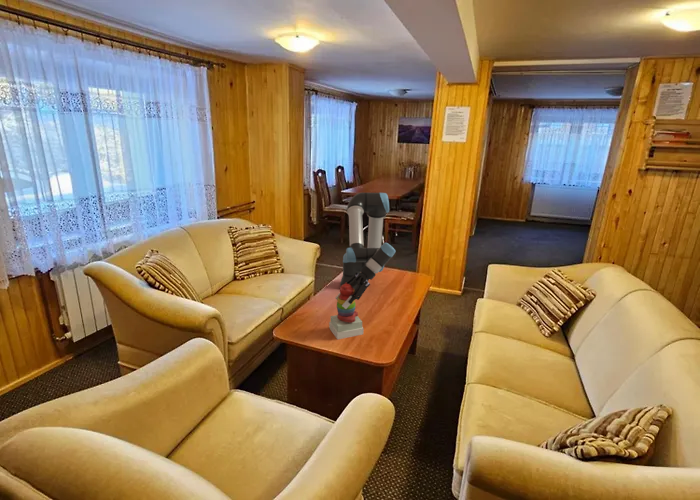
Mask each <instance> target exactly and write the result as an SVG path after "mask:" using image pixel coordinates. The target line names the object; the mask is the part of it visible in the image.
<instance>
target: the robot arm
mask: <svg viewBox="0 0 700 500" xmlns="http://www.w3.org/2000/svg"><path fill="white" fill-rule="evenodd" d="M389 212H390V202H389V196H388V193H386V192H379V191H378V192H364V191H363V192H358V193H356V194H355V195H353V196H352V197H351V198H350V200H349V202H348V203H347V208H346V213H347V215H348V226H349V227H348V228H349V229H348V233H349V247H347V248H346V249H345V253H344V254H343V256H342V277H341V279H340V282H339V288H340V287H341V286H342V285H343V284H345V283H347V284H350V285H351V286H352V287H353V288H354V290H355V291H354V293H353V295H351V296H350V297H349V298H348V299H347V300H346V302H345V303H344V304H343V305H342V306H343V307H344V308H345V309H347V308H348V306H349V305H350V304H351V303H352V302H353V301H354V300H355V301H356V300H357V301H359V300H360V299H361V297H362V296H363V294H364V293H365V292H366V290H367V289H368V288H369V287H370V286H371V283H370V282H369V280H373V279H374V278H375V277H376V274H379V273H381V272H383V270H384V268H385V265H386V264H387V263H388V262H389V261H390V260H391V259H392V258H393V257H394V255H395V254H396V249H395V248H394V247H393V246H392V245H391V244H389V243H388V242H384V243H383V244H382V239H383V228H384V218H386V217H387V214H388V213H389ZM364 213H366V215H367V217H368V229H367V231H368V232H367V235H368V236H367V247H364V246H365V245H364V244H365V243H364V228H363V226H364V224H363V215H364ZM340 295H341V294H340V292H339V293H338V294H337V295H336V296H335V300H337V301H338V297H339V296H340Z"/></svg>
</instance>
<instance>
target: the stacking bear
mask: <svg viewBox="0 0 700 500" xmlns="http://www.w3.org/2000/svg"><path fill="white" fill-rule="evenodd" d="M354 291H355V290H354V288H353V287H352V286H351V285H350V284H347V283H345V284H343V285H342V286H341V287H340V286H339V293H340V294H341V295H340V296H339V297H338V300H337V301H336V310H337V318H338V319H339V320H342V321H345V322H355V317H356V316H358V317H359V313H358V312H357V310H356V299H355V300H354V301H353V302H352V303H351V304H350V305H349V306H348V308H347V309H345V308H344V307H343V306H342V305H343V304H344V303H345V302H346V300H347V299H348V298H349V297H350V296H351V295H353V293H354Z"/></svg>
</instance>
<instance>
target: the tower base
mask: <svg viewBox="0 0 700 500" xmlns="http://www.w3.org/2000/svg"><path fill="white" fill-rule="evenodd" d="M337 315H338V314H337ZM337 315H336V314H335V315H331V316H330V321H329V322H328V325H329V329H330V331H331V333H332V334H333V336H334V337H335V339H337V340H342V339H346V338H347V339H348V338H351V337H357V336H362V335H363V336H364V327H363V321H362V320H361V318H360V317H359V315H358V316H356V317H355V322H345V321H342V320H339V319H338V318H337Z"/></svg>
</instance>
